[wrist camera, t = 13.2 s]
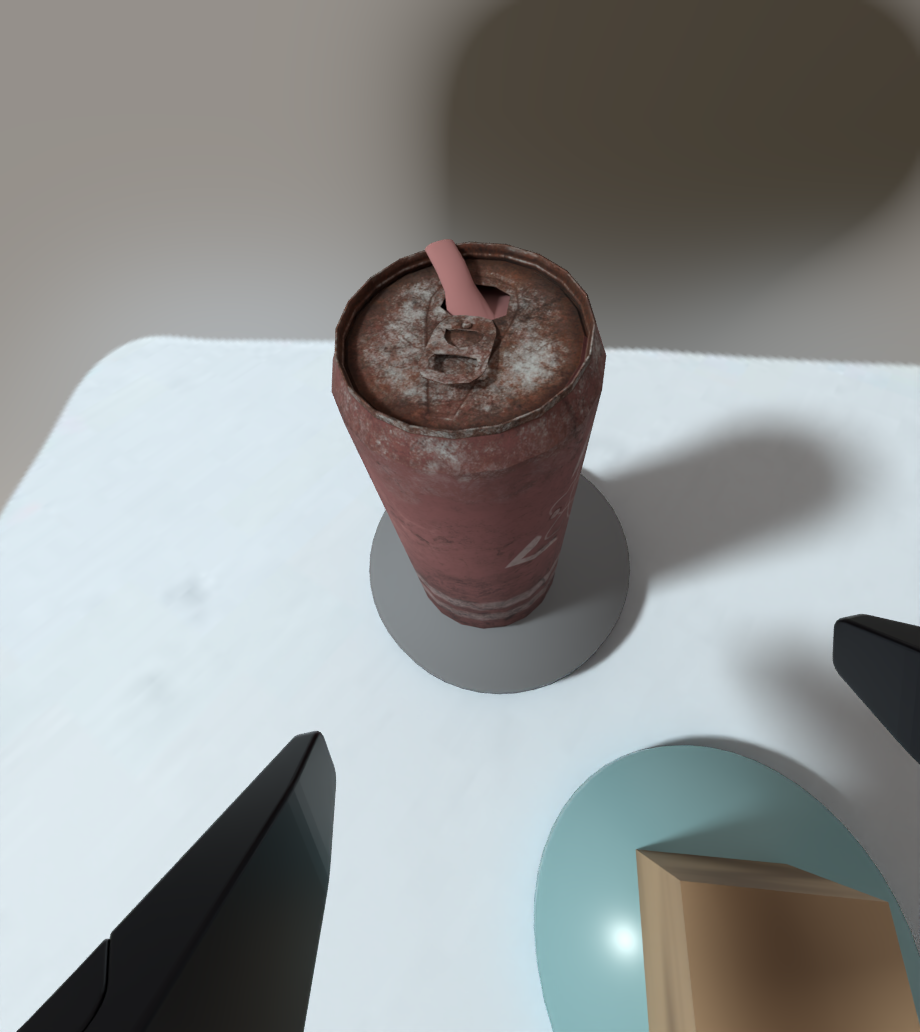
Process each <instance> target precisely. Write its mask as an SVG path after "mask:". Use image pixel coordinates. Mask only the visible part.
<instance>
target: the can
mask: <svg viewBox="0 0 920 1032" xmlns="http://www.w3.org/2000/svg"><path fill="white" fill-rule="evenodd" d="M605 361H606V353H605V350H604V347H603V344H602V341H601V337H600V334H599V331H598V328H597V324H596V320H595V317H594V314H593V311H592V308H591V304H590V301H589V299H588V295H587V293H586V292H585V291H584V290H583V289H582V287H581V286H580V285H579V284H578V283H577V282H576V280H575V279H574V278H573V277H572V276H571V274H570V273H569V272H568V271H567V270H565V269H563V268H562V267H560V266H558V265H557V264H555V263H554V262H552V261H550V260H549V259H547V258H545V257H543V256H542V255H540V254H537V253H534V252H531V251H528V250H524V249H521V248H517V247H514V246H510V245H507V244H496V243H479V242H465V243H458V244H455V243H454V242H453V240H449V239H446V240H441V241H437V242H434V243H431V244H430V245H428V246H427V247H426V248H425V250H424V251H421V252H418V253H415V254H413V255H409V256H407V257H404V258H401V259H399V260H397V261H396V262H394V263H392V264H391V265H389V266H388V267H386V268H384V269H383V270H382V271H380V272H378V273H377V274H375V275H373V276H372V277H370V278H369V279H368V280H367V281H366V283H365V284H364V285H363V286H362V287H361V288H360V289H359V290H358V291H357V292H356V293H355V294H354V296H353V297H352V298H351V299H350V300H349V301H348V303H347V305H346V307H345V309H344V311H343V314H342V316H341V318H340V320H339V322H338V324H337V327H336V331H335V353H334V357H333V369H332V394H333V396H334V399H335V401H336V404H337V406H338V409H339V411H340V414H341V416H342V419H343V421H344V423H345V426H346V428H347V430H348V432H349V434H350V436H351V438H352V440H353V442H354V444H355V446H356V448H357V451H358V453H359V455H360V457H361V459H362V461H363V463H364V465H365V467H366V469H367V471H368V473H369V476H370V478H371V480H372V482H373V484H374V486H375V488H376V490H377V492H378V494H379V496H380V498H381V501H382V503H383V505H384V507H385V509H386V511H387V513H388V515H389V517H390V519H391V521H392V523H393V526H394V528H395V530H396V532H397V534H398V536H399V538H400V540H401V542H402V544H403V546H404V548H405V551H406V553H407V555H408V557H409V559H410V561H411V563H412V565H413V567H414V569H415V571H416V573H417V576H418V578H419V580H420V582H421V584H422V586H423V588H424V590H425V592H426V594H427V596H428V598H429V599H430V600H431V601H432V603H433V604H434V605H435V606H436V607H437V608H438V609H439V610H440V612H441V613H442V614H444V615H446V616H447V617H449V618H451V619H453V620H454V621H456V622H458V623H460V624H462V625H467V626H472V627H477V628H482V629H486V628H495V627H504V626H508V625H510V624H512V623H514V622H516V621H519V620H521V619H523V618H525V617H527V616H528V615H529V614H530V613H531V612H532V611H533V610H534V609H535V608H537V607H538V606H539V605H540V604H541V603H542V602H543V600H544V598H545V596H546V594H547V592H548V590H549V589H550V587H551V585H552V583H553V579H554V575H555V571H556V567H557V563H558V559H559V555H560V551H561V547H562V543H563V540H564V536H565V532H566V528H567V524H568V520H569V516H570V512H571V508H572V504H573V501H574V497H575V493H576V489H577V485H578V481H579V477H580V473H581V469H582V465H583V461H584V458H585V454H586V450H587V446H588V442H589V438H590V434H591V430H592V426H593V422H594V418H595V415H596V411H597V407H598V403H599V399H600V395H601V391H602V385H603V377H604V369H605Z"/></svg>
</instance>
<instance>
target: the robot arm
mask: <svg viewBox="0 0 920 1032" xmlns="http://www.w3.org/2000/svg"><path fill="white" fill-rule="evenodd" d="M833 663H834V666H835V669H836V670H837V672H838V674H839V675H840V676H841V677H842V678H843V680H844V681H845V682H846V683H847V684H848V685H849V686H850V688H851V689H852V690H853V691H854V692H855V693H856V694H857V696H858V697H859V698H860V699H861V700H862V701H863V702H864V703H865V705H866V706H867V707H868V708H869V709H870V710H871V711H872V713H873V714H874V715H875V716H876V717H877V718H878V719H879V721H880V722H881V723H882V724H883V725H884V726H885V727H886V729H887V730H888V731H889V732H890V733H891V734H892V735H893V736H894V738H895V739H896V740H897V741H898V742H899V743H900V744H901V745H902V746H903V747H904V749H905V750H906V751H907V752H908V753H909V754H910V755H911V756H912V757H913V758H914V759H915V760H916V761H917V762H918V763H919V764H920V627H919V626H915V625H911V624H906V623H902V622H897V621H893V620H889V619H884V618H880V617H875V616H871V615H866V614H858V615H853V616H849V617H844V618H840V619H839V620H837V621H836V623H835V625H834V637H833ZM335 792H336V772H335V768H334V764H333V762H332V759H331V756H330V753H329V750H328V747H327V745H326V742H325V739H324V737H323V735H322V733H321V732H319V731H313V732H308V733H304V734H299V735H297V736H295V737H294V738H293V739H292V740H291V741H290V742H289V743H288V744H287V745H286V746H285V747H284V748H283V749H282V750H281V752H280V753H279V754H278V755H277V756H276V757H275V758H274V759H273V760H272V761H271V762H270V763H269V764H268V765H267V766H266V768H265V769H264V770H263V771H262V772H261V773H260V774H259V775H258V776H257V777H256V778H255V779H254V780H253V781H252V783H251V784H250V785H249V786H248V787H247V788H246V789H245V790H244V791H243V792H242V793H241V794H240V795H239V796H238V798H237V799H236V800H235V801H234V802H233V803H232V804H231V805H230V806H229V807H228V808H227V809H226V810H225V811H224V813H223V814H222V815H221V816H220V817H219V818H218V819H217V820H216V821H215V822H214V823H213V824H212V825H211V826H210V827H209V829H208V830H207V831H206V832H205V833H204V834H203V835H202V836H201V837H200V838H199V839H198V840H197V841H196V842H195V844H194V845H193V846H192V847H191V848H190V849H189V850H188V851H187V852H186V853H185V854H184V855H183V856H182V857H181V859H180V860H179V861H178V862H177V863H176V864H175V865H174V866H173V867H172V868H171V869H170V870H169V871H168V872H167V874H166V875H165V876H164V877H163V878H162V879H161V880H160V881H159V882H158V883H157V884H156V885H155V886H154V887H153V888H152V890H151V891H150V892H149V893H148V894H147V895H146V896H145V897H144V898H143V899H142V900H141V901H140V902H139V903H138V905H137V906H136V907H135V908H134V909H133V910H132V911H131V912H130V913H129V914H128V915H127V916H126V917H125V918H124V919H123V921H122V922H121V923H120V924H119V925H118V926H117V927H116V928H115V929H114V930H113V931H112V933H111V934H110V939H105V940H104V941H103V942H102V943H101V944H100V945H99V946H98V947H97V948H96V949H95V950H94V951H93V952H92V954H91V955H90V956H89V957H88V958H87V959H86V960H85V961H84V962H83V963H82V964H81V965H80V966H79V967H78V968H77V970H76V971H75V972H74V973H73V974H72V975H71V976H70V977H69V978H68V979H67V980H66V981H65V982H64V983H63V984H62V985H61V986H60V987H59V988H58V989H57V990H56V991H55V992H54V994H53V995H52V996H51V997H50V998H49V999H48V1000H47V1001H46V1002H45V1003H44V1004H43V1005H42V1006H41V1007H40V1008H39V1009H38V1010H37V1011H36V1012H35V1013H34V1014H33V1015H32V1016H31V1017H30V1019H29V1020H28V1021H27V1022H26V1023H25V1024H24V1025H23V1026H22V1027H21V1028H20V1029H19V1030H17V1031H16V1032H304V1026H305V1020H306V1015H307V1009H308V1003H309V997H310V991H311V985H312V979H313V973H314V968H315V962H316V956H317V950H318V944H319V938H320V932H321V926H322V921H323V915H324V909H325V903H326V897H327V890H328V883H329V875H330V864H331V850H332V835H333V821H334V806H335Z"/></svg>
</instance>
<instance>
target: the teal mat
mask: <svg viewBox="0 0 920 1032" xmlns="http://www.w3.org/2000/svg"><path fill="white" fill-rule="evenodd" d="M636 849H638V850H648V851H659V852H669V853H679V854H690V855H700V856H710V857H720V858H731V859H741V860H751V861H761V862H772V863H782V864H788V865H791V866H793V867H796V868H799V869H801V870H804V871H807V872H809V873H812V874H815V875H817V876H820V877H823V878H825V879H828V880H831V881H833V882H836V883H839V884H841V885H844V886H847V887H849V888H852V889H855V890H857V891H860V892H863V893H865V894H868V895H871V896H873V897H876V898H879V899H881V900H884V901H887V902H888V903H889V907H890V911H891V915H892V918H893V922H894V926H895V930H896V934H897V938H898V942H899V946H900V950H901V954H902V958H903V962H904V965H905V969H906V973H907V977H908V981H909V985H910V989H911V993H912V997H913V1001H914V1005H915V1009H916V1013H917V1016H918V1020H919V1024H920V956H919V953H918V950H917V948H916V945H915V942H914V939H913V936H912V934H911V931H910V928H909V926H908V924H907V922H906V920H905V918H904V916H903V913H902V911H901V909H900V907H899V905H898V903H897V901H896V899H895V897H894V895H893V894H892V892H891V890H890V888H889V887H888V885H887V883H886V882H885V880H884V878H883V876H882V875H881V873H880V871H879V870H878V869H877V867H876V866H875V864H874V863H873V861H872V860H871V859H870V857H869V856H868V854H867V853H866V852H865V850H864V849H863V847H862V846H861V845H860V844H859V843H858V841H857V840H856V839H855V838H854V837H853V836H852V834H851V833H850V832H849V831H848V830H847V829H846V827H845V826H844V825H843V824H842V823H841V822H840V821H839V820H838V819H837V818H836V817H835V816H834V815H833V814H832V813H831V812H830V811H829V810H828V809H827V808H826V807H825V806H824V805H823V804H821V803H820V802H819V801H818V800H816V799H815V798H814V797H813V796H811V795H810V794H809V793H808V792H806V791H805V790H804V789H803V788H801V787H800V786H799V785H797V784H796V783H794V782H792V781H791V780H789V779H788V778H786V777H785V776H783V775H782V774H780V773H778V772H777V771H775V770H773V769H771V768H769V767H767V766H765V765H763V764H761V763H759V762H757V761H755V760H752V759H749V758H746V757H744V756H741V755H738V754H736V753H733V752H729V751H724V750H720V749H716V748H711V747H702V746H692V745H680V746H662V747H655V748H650V749H644V750H639V751H636V752H634V753H631V754H628V755H625V756H622V757H620V758H618V759H616V760H614V761H613V762H611V763H609V764H607V765H605V766H604V767H602V768H601V769H600V770H598V771H597V772H596V773H594V774H593V775H592V776H590V777H589V778H588V779H587V780H586V781H585V782H584V783H583V784H582V785H581V786H580V787H579V788H578V789H577V790H576V791H575V792H574V794H573V795H572V796H571V798H570V799H569V800H568V802H567V803H566V804H565V806H564V807H563V809H562V810H561V812H560V814H559V816H558V818H557V820H556V821H555V823H554V825H553V827H552V829H551V832H550V834H549V837H548V840H547V842H546V845H545V847H544V850H543V854H542V858H541V862H540V866H539V870H538V875H537V883H536V890H535V898H534V935H535V947H536V957H537V964H538V970H539V976H540V981H541V986H542V992H543V997H544V1001H545V1005H546V1008H547V1012H548V1015H549V1019H550V1022H551V1026H552V1029H553V1032H649V1024H648V1011H647V997H646V984H645V970H644V957H643V943H642V929H641V916H640V902H639V889H638V875H637V861H636Z"/></svg>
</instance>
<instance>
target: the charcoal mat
mask: <svg viewBox="0 0 920 1032" xmlns="http://www.w3.org/2000/svg"><path fill="white" fill-rule="evenodd" d="M369 572H370V583H371V590H372V594H373V598H374V603H375V605H376V608H377V610H378V613H379V616H380V618H381V620H382V622H383V623H384V625H385V627H386V629H387V631H388V632H389V634H390V635H391V636H392V638H393V639H394V640H395V642H396V643H397V644H398V645H399V647H400V648H401V649H402V650H403V651H404V652H405V653H406V654H407V655H408V656H409V657H410V658H411V659H412V660H413V661H414V662H415V663H416V664H418V665H419V666H420V667H422V668H423V669H424V670H426V671H427V672H428V673H430V674H432V675H433V676H435V677H437V678H439V679H441V680H442V681H444V682H446V683H449V684H452V685H454V686H457V687H460V688H462V689H467V690H471V691H475V692H480V693H491V694H509V693H519V692H524V691H530V690H534V689H537V688H540V687H543V686H546V685H549V684H552V683H554V682H556V681H557V680H559V679H561V678H563V677H565V676H567V675H569V674H570V673H571V672H573V671H574V670H576V669H577V668H579V667H580V666H581V665H582V664H583V663H585V662H586V661H587V660H588V659H589V658H590V657H591V656H592V655H593V654H594V653H595V652H596V650H597V649H598V648H599V647H600V645H601V644H602V643H603V642H604V640H605V639H606V638H607V637H608V635H609V634H610V632H611V631H612V629H613V627H614V625H615V624H616V622H617V620H618V618H619V616H620V613H621V611H622V608H623V606H624V603H625V599H626V594H627V590H628V584H629V572H630V567H629V553H628V548H627V543H626V539H625V536H624V533H623V530H622V527H621V524H620V522H619V520H618V518H617V516H616V514H615V512H614V511H613V509H612V507H611V506H610V504H609V503H608V502H607V500H606V499H605V497H604V496H603V495H602V494H601V493H600V492H599V490H598V489H597V488H596V487H595V486H594V485H593V484H592V483H591V482H589V481H588V480H587V479H586V478H585V477H584V476H583V475H581V474H580V477H579V481H578V485H577V489H576V493H575V497H574V501H573V504H572V508H571V512H570V516H569V520H568V524H567V528H566V532H565V536H564V540H563V543H562V547H561V551H560V555H559V559H558V563H557V567H556V571H555V575H554V579H553V583H552V585H551V587H550V589H549V590H548V592H547V594H546V596H545V598H544V600H543V602H542V603H541V604H540V605H539V606H538V607H537V608H535V609H534V610H533V611H532V612H531V613H530V614H529V615H528V616H527V617H525V618H523V619H521V620H519V621H516V622H514V623H512V624H510V625H508V626H504V627H495V628H486V629H482V628H477V627H472V626H467V625H462V624H460V623H458V622H456V621H454V620H453V619H451V618H449V617H447V616H446V615H444V614H442V613H441V612H440V610H439V609H438V608H437V607H436V606H435V605H434V604H433V603H432V601H431V600H430V599H429V598H428V596H427V594H426V592H425V590H424V588H423V586H422V584H421V582H420V580H419V578H418V576H417V573H416V571H415V569H414V567H413V565H412V563H411V561H410V559H409V557H408V555H407V553H406V551H405V548H404V546H403V544H402V542H401V540H400V538H399V536H398V534H397V532H396V530H395V528H394V526H393V523H392V521H391V519H390V517H389V515H388V513H387V511H385V512H384V514H383V516H382V518H381V520H380V522H379V525H378V527H377V530H376V533H375V536H374V539H373V543H372V549H371V554H370V569H369Z"/></svg>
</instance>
